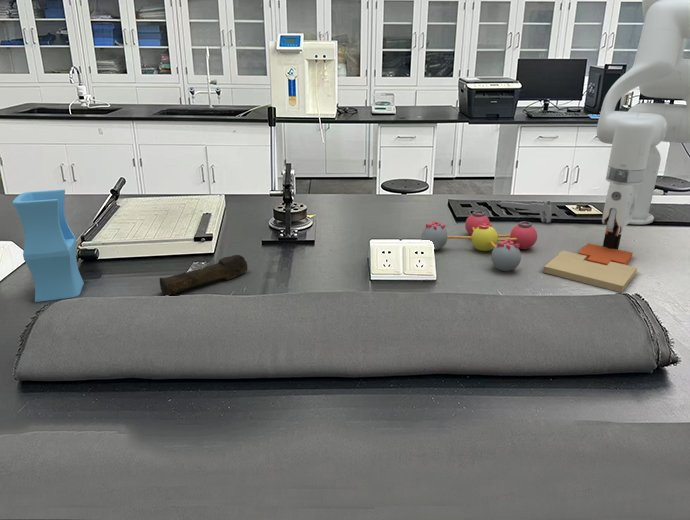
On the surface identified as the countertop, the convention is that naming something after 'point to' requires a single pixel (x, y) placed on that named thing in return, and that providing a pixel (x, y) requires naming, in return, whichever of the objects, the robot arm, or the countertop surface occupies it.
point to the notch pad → (590, 271)
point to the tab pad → (605, 254)
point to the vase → (49, 245)
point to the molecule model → (488, 239)
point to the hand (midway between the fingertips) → (610, 249)
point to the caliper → (533, 208)
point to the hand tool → (204, 275)
